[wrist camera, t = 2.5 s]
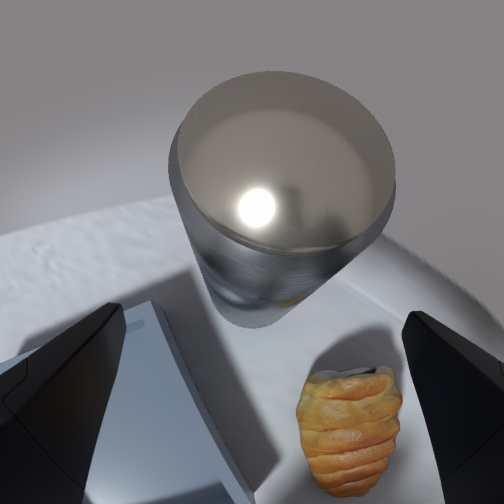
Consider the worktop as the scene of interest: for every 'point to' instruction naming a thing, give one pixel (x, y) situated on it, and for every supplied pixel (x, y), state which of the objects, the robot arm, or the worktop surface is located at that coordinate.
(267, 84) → the canister
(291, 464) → the worktop surface
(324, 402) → the pastry
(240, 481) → the bin
